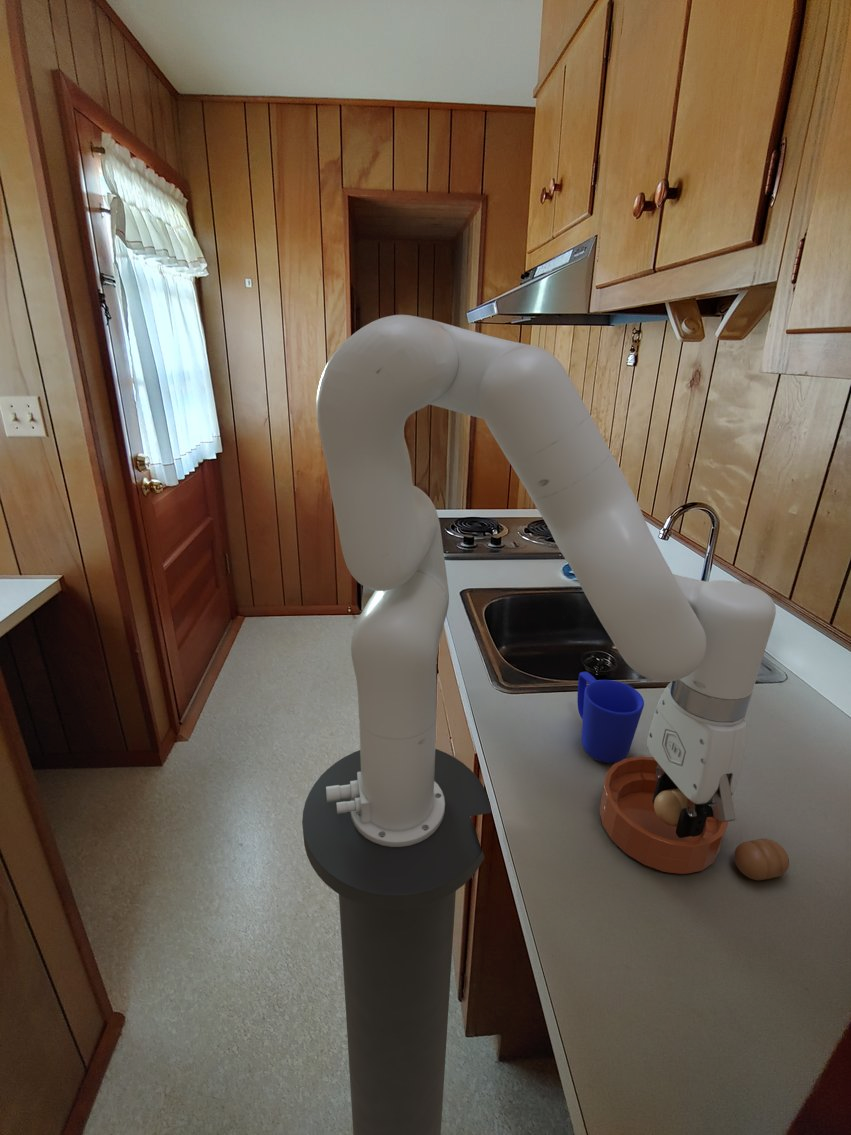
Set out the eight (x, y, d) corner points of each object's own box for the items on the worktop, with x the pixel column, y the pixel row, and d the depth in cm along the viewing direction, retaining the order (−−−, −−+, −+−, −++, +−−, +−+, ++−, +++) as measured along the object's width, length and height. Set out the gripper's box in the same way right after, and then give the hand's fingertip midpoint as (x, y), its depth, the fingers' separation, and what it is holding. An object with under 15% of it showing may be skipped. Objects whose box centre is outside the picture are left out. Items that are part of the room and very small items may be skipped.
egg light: (663, 836, 64) (670, 811, 63) (644, 809, 68) (650, 785, 66) (709, 828, 65) (716, 803, 64) (687, 802, 69) (694, 778, 67)
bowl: (637, 886, 63) (644, 855, 61) (580, 792, 75) (585, 763, 74) (744, 865, 66) (755, 835, 64) (672, 778, 78) (679, 750, 76)
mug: (596, 713, 91) (605, 662, 87) (644, 763, 81) (656, 707, 77) (553, 722, 89) (560, 670, 85) (596, 775, 78) (606, 718, 74)
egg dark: (747, 891, 62) (756, 866, 61) (723, 860, 66) (730, 836, 64) (792, 881, 64) (802, 857, 62) (765, 852, 67) (774, 828, 66)
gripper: (635, 655, 66) (612, 772, 73) (733, 750, 51) (693, 886, 58) (690, 649, 68) (663, 765, 75) (802, 740, 53) (754, 874, 60)
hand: (676, 817), depth 67 cm, fingers closed on egg light, 4 cm apart
